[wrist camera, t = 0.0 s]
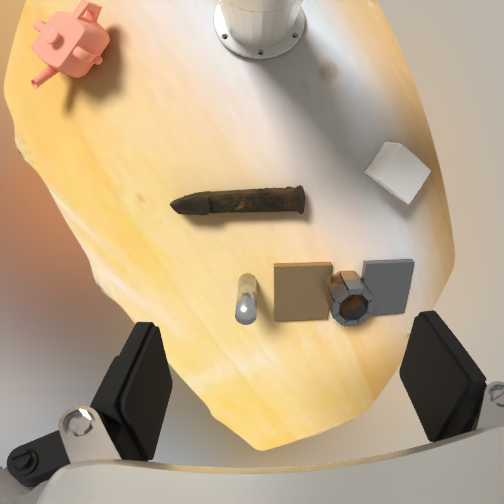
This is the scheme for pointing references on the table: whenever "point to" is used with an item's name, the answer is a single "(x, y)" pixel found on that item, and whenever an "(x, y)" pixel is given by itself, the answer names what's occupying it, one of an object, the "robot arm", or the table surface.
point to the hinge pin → (246, 300)
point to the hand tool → (242, 201)
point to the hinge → (341, 291)
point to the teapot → (70, 42)
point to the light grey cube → (398, 171)
